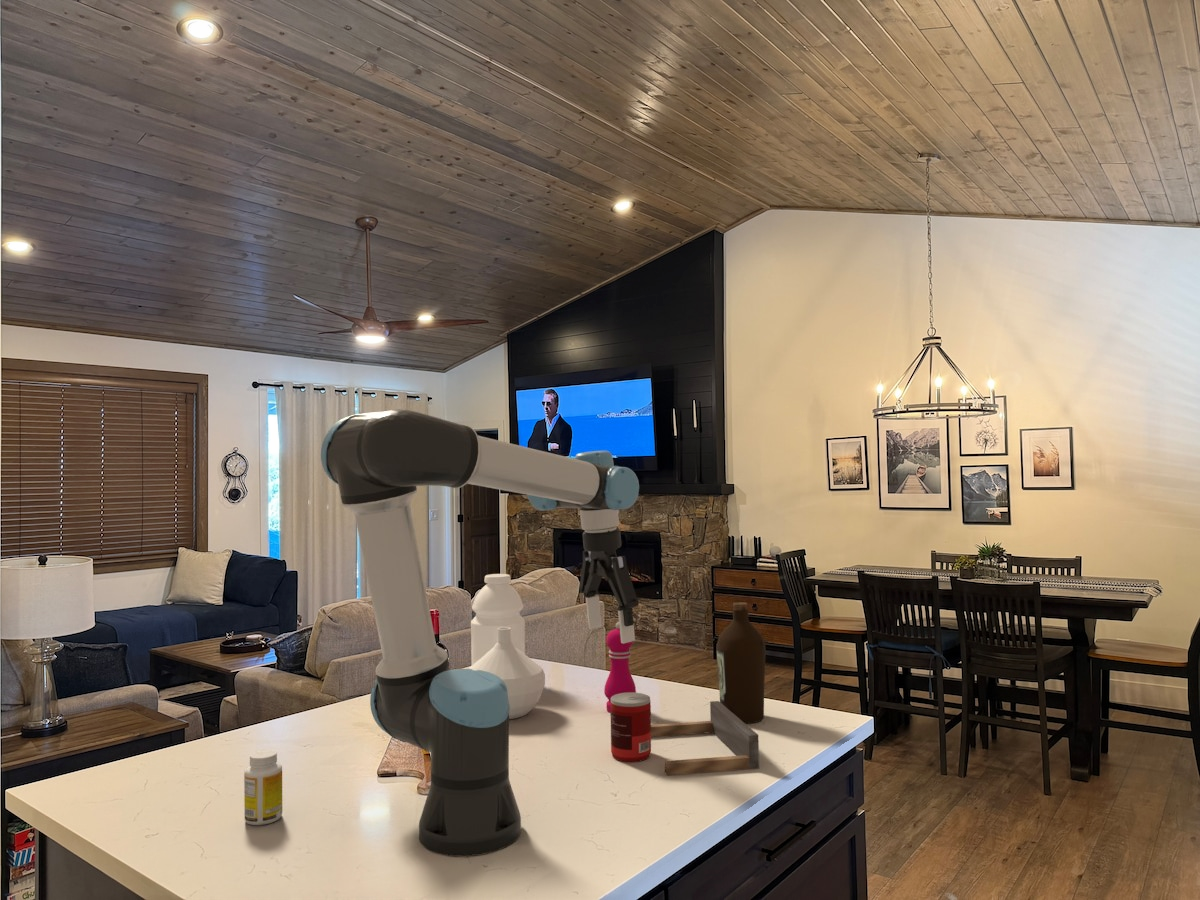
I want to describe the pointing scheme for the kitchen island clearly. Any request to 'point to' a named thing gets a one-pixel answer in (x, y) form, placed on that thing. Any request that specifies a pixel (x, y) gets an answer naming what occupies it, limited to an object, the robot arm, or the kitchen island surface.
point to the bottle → (496, 616)
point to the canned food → (630, 726)
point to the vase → (514, 673)
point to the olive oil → (742, 667)
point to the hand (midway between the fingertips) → (611, 634)
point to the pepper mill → (618, 667)
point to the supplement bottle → (263, 788)
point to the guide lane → (726, 730)
